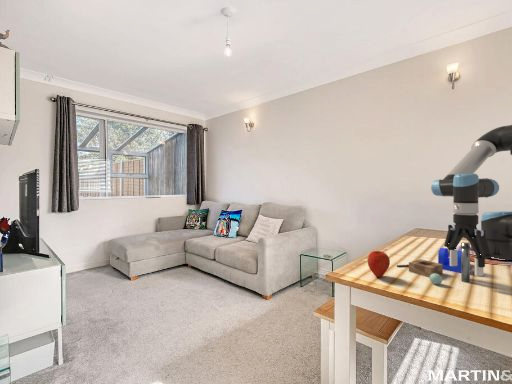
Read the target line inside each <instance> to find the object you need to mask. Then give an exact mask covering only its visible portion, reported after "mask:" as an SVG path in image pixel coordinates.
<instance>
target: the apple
mask: <svg viewBox="0 0 512 384" xmlns="http://www.w3.org/2000/svg"><path fill="white" fill-rule="evenodd" d="M390 261H391V260H390V256H388V254H387V253H385V252H384V251H381V250H373V251H372V252H370V253H369V254H368V257H367V266H368V269H369V270H370V271H371V273H372V274H373V275H374V276H375V277H376V278H381V277H383V275H385V273H386V272H387V271H388V269H389V268H390V265H391V264H390V263H391V262H390Z"/></svg>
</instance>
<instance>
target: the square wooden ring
mask: <svg viewBox="0 0 512 384" xmlns="http://www.w3.org/2000/svg"><path fill="white" fill-rule="evenodd" d="M408 265H409V266H408V272H409V273H413V274H416V275H419V276H423V277H427V278H430V275H431V274H434V273H436V274H439V275H440V276H441V275H442V274H444V273H443V272H444V271H443V264H439V263H438V262H434V261H431V260H430V261H429V260H426V259H422V258H421V259H420V258H419V259H417V260H413V261H409V262H408Z"/></svg>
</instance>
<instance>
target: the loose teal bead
mask: <svg viewBox="0 0 512 384" xmlns="http://www.w3.org/2000/svg"><path fill="white" fill-rule="evenodd" d="M429 281H430V282H431V283H432V284H434V285H440V284H442V282H443V277H442V276H441V274H440V275H439V274H436V273H434V274H431V275H430V277H429Z"/></svg>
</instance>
